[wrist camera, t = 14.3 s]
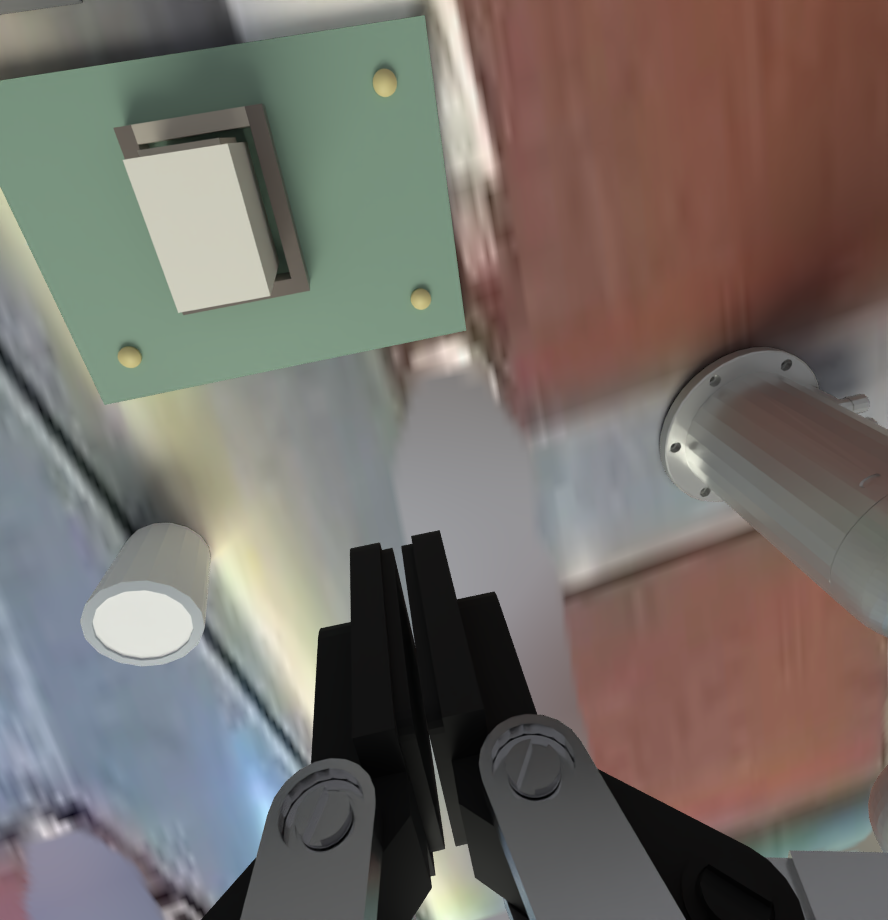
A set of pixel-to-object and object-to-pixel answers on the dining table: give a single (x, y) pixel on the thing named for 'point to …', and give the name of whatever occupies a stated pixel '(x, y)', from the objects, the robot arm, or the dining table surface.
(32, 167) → the board
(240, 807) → the dining table surface
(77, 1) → the grey push button box
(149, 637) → the gray cup
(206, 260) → the plug
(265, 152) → the socket
